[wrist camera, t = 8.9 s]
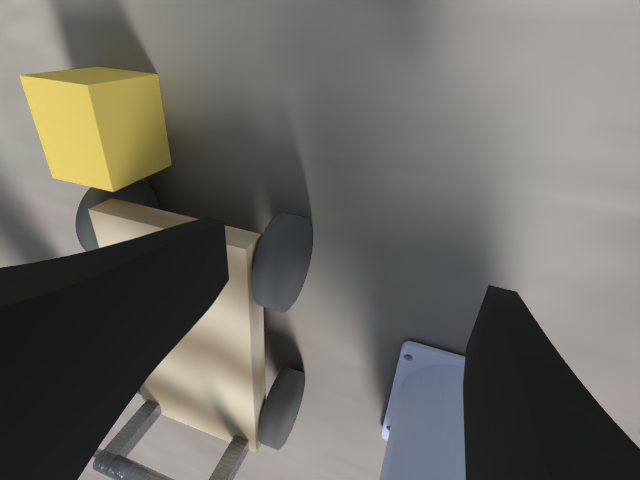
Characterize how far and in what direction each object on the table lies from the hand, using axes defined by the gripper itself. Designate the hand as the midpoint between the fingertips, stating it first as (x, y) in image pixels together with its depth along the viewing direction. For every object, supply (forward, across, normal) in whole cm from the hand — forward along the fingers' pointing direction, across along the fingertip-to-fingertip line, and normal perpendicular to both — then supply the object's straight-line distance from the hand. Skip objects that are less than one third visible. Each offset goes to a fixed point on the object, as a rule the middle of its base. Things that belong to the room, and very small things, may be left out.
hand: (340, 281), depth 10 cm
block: (+10, +15, 0) cm, 18 cm away
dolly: (+9, +10, +11) cm, 18 cm away
